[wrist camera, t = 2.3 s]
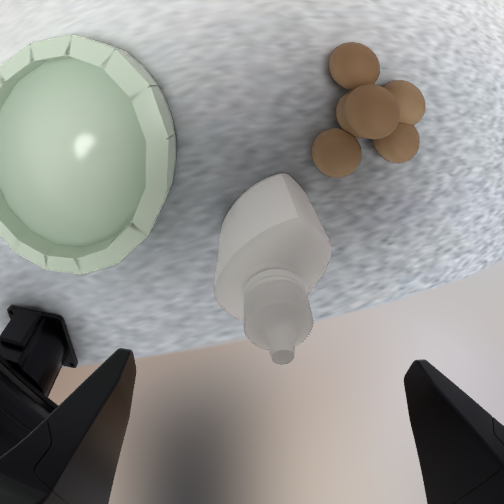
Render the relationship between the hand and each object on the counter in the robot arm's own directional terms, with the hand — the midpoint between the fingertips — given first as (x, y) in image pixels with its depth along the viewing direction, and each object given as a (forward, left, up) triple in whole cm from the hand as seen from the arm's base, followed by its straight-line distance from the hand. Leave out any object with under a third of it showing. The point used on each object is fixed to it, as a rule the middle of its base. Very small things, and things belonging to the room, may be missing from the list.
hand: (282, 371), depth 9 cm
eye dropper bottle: (0, 0, -13) cm, 13 cm away
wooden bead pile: (+7, -5, -13) cm, 15 cm away
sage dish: (+3, +13, -13) cm, 18 cm away
